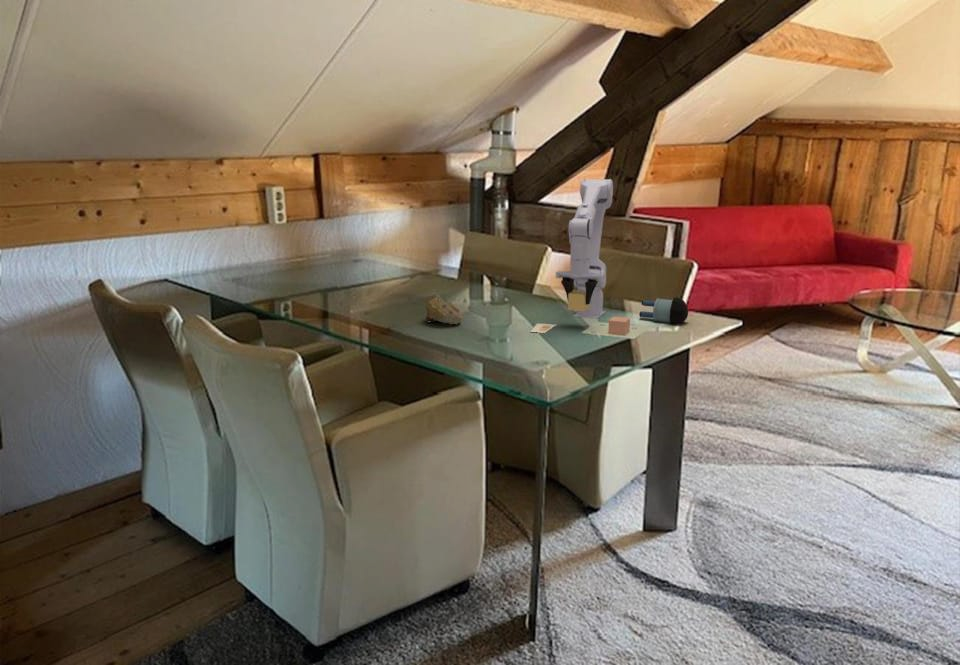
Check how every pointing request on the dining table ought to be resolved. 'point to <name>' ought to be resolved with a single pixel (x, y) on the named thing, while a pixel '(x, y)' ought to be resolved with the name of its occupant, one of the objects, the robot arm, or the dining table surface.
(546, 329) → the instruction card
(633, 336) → the plate
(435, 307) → the seashell
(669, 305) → the toy
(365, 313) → the dining table surface
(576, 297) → the ochre brick
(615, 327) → the terracotta brick
